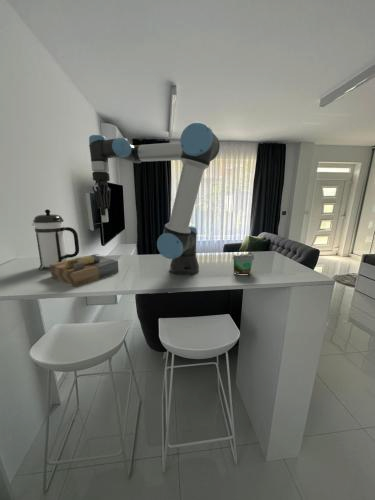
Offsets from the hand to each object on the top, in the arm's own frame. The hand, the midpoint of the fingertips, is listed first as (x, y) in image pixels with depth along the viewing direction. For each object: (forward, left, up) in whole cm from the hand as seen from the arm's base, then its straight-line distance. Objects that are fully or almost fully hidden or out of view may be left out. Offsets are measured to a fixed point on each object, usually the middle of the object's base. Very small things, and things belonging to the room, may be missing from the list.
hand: (105, 222), depth 106 cm
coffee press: (+24, +14, -25) cm, 37 cm away
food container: (-61, -35, -25) cm, 75 cm away
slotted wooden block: (+1, +12, -24) cm, 27 cm away
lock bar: (-3, +15, -18) cm, 23 cm away
